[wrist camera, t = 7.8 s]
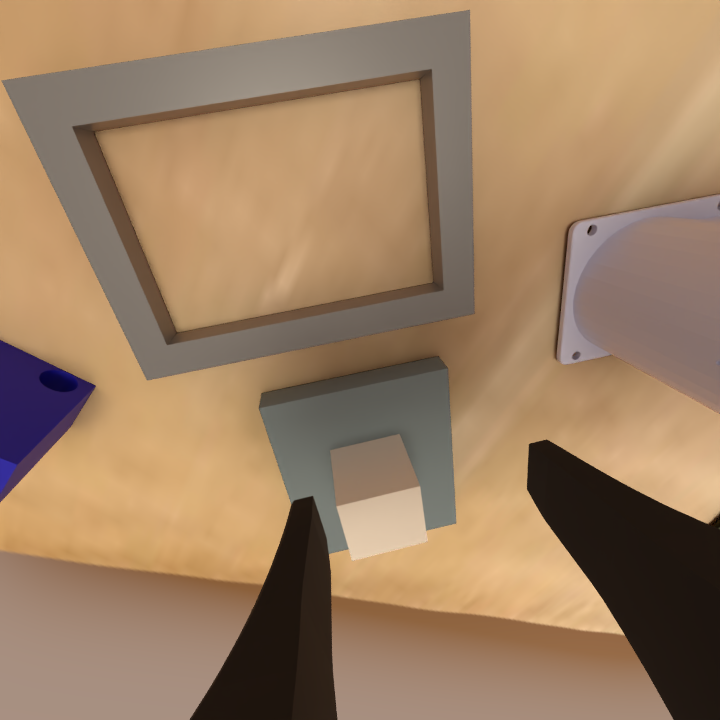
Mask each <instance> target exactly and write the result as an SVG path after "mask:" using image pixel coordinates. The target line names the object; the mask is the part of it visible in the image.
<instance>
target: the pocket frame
mask: <svg viewBox="0 0 720 720" xmlns="http://www.w3.org/2000/svg"><path fill="white" fill-rule="evenodd" d="M416 79H420V85H421V100H422V115H423V131H424V146H425V161H426V176H427V191H428V206H429V221H430V237H431V252H432V267H433V282H434V283H429V284H424V285H419V286H414V287H409V288H404V289H399V290H394V291H389V292H384V293H379V294H373V295H368V296H363V297H358V298H353V299H348V300H343V301H338V302H333V303H328V304H323V305H318V306H313V307H307V308H302V309H297V310H292V311H287V312H282V313H277V314H272V315H267V316H262V317H257V318H252V319H246V320H241V321H236V322H231V323H226V324H221V325H216V326H211V327H206V328H201V329H196V330H191V331H186V332H180V333H176V330H175V328H174V325H173V323H172V320H171V318H170V316H169V313H168V311H167V308H166V306H165V304H164V301H163V299H162V296H161V294H160V292H159V289H158V287H157V284H156V282H155V279H154V277H153V275H152V272H151V270H150V267H149V265H148V263H147V260H146V258H145V255H144V253H143V251H142V248H141V246H140V243H139V241H138V239H137V236H136V234H135V231H134V229H133V226H132V224H131V222H130V219H129V217H128V214H127V212H126V210H125V207H124V205H123V202H122V200H121V198H120V195H119V193H118V190H117V188H116V185H115V183H114V181H113V178H112V176H111V173H110V171H109V169H108V166H107V164H106V161H105V159H104V157H103V154H102V152H101V149H100V147H99V144H98V142H97V140H96V137H95V135H94V131H100V130H107V129H113V128H119V127H125V126H131V125H138V124H144V123H150V122H156V121H162V120H169V119H175V118H181V117H187V116H193V115H200V114H206V113H212V112H218V111H224V110H231V109H237V108H243V107H249V106H255V105H262V104H268V103H274V102H280V101H286V100H293V99H299V98H305V97H311V96H317V95H324V94H330V93H336V92H342V91H348V90H355V89H361V88H367V87H373V86H379V85H386V84H392V83H398V82H404V81H410V80H416ZM2 83H3V85H4V87H5V89H6V91H7V93H8V95H9V97H10V99H11V101H12V103H13V105H14V107H15V109H16V111H17V114H18V116H19V118H20V120H21V122H22V124H23V126H24V128H25V130H26V132H27V134H28V136H29V138H30V140H31V142H32V144H33V147H34V149H35V151H36V153H37V155H38V157H39V159H40V161H41V163H42V165H43V167H44V169H45V171H46V173H47V175H48V177H49V179H50V182H51V184H52V186H53V188H54V190H55V192H56V194H57V196H58V198H59V200H60V202H61V204H62V206H63V208H64V210H65V212H66V215H67V217H68V219H69V221H70V223H71V225H72V227H73V229H74V231H75V233H76V235H77V237H78V239H79V241H80V243H81V245H82V247H83V250H84V252H85V254H86V256H87V258H88V260H89V262H90V264H91V266H92V268H93V270H94V272H95V274H96V276H97V278H98V280H99V283H100V285H101V287H102V289H103V291H104V293H105V295H106V297H107V299H108V301H109V303H110V305H111V307H112V309H113V311H114V313H115V315H116V318H117V320H118V322H119V324H120V326H121V328H122V330H123V332H124V334H125V336H126V338H127V340H128V342H129V344H130V346H131V348H132V351H133V353H134V355H135V357H136V359H137V361H138V363H139V365H140V367H141V369H142V371H143V373H144V375H145V377H146V379H147V380H152V379H157V378H162V377H167V376H172V375H177V374H182V373H186V372H191V371H196V370H201V369H206V368H211V367H216V366H221V365H226V364H231V363H236V362H240V361H245V360H250V359H255V358H260V357H265V356H270V355H275V354H280V353H285V352H290V351H294V350H299V349H304V348H309V347H314V346H319V345H324V344H329V343H334V342H339V341H344V340H349V339H353V338H358V337H363V336H368V335H373V334H378V333H383V332H388V331H393V330H398V329H403V328H407V327H412V326H417V325H422V324H427V323H432V322H437V321H442V320H447V319H452V318H457V317H461V316H466V315H471V314H475V311H474V245H473V179H472V113H471V47H470V10H466V11H460V12H453V13H446V14H440V15H433V16H427V17H420V18H413V19H407V20H400V21H393V22H387V23H380V24H374V25H367V26H360V27H354V28H347V29H340V30H334V31H327V32H320V33H314V34H307V35H301V36H294V37H287V38H281V39H274V40H267V41H261V42H254V43H248V44H241V45H234V46H228V47H221V48H214V49H208V50H201V51H194V52H188V53H181V54H175V55H168V56H161V57H155V58H148V59H141V60H135V61H128V62H121V63H115V64H108V65H102V66H95V67H88V68H82V69H75V70H68V71H62V72H55V73H49V74H42V75H35V76H29V77H22V78H15V79H9V80H2Z"/></svg>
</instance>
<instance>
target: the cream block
mask: <svg viewBox="0 0 720 720" xmlns="http://www.w3.org/2000/svg"><path fill="white" fill-rule="evenodd" d="M330 454H331V463H332V472H333V480H334V489H335V498H336V507H337V510H338V514H339V517H340V521H341V524H342V528H343V531H344V535H345V538H346V541H347V545H348V548H349V552H350V555H351V559H352V561H354V560H358V559H362V558H366V557H370V556H374V555H378V554H382V553H386V552H390V551H394V550H398V549H401V548H405V547H409V546H413V545H417V544H421V543H425V542H428V540H427V533H426V526H425V518H424V511H423V504H422V496H421V489H420V485H419V482H418V479H417V477H416V474H415V472H414V469H413V467H412V464H411V462H410V459H409V457H408V454H407V452H406V449H405V447H404V444H403V442H402V439H401V436H400V434H397V435H393V436H388V437H384V438H380V439H376V440H371V441H367V442H363V443H359V444H355V445H350V446H346V447H342V448H338V449H333V450H330Z"/></svg>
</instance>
